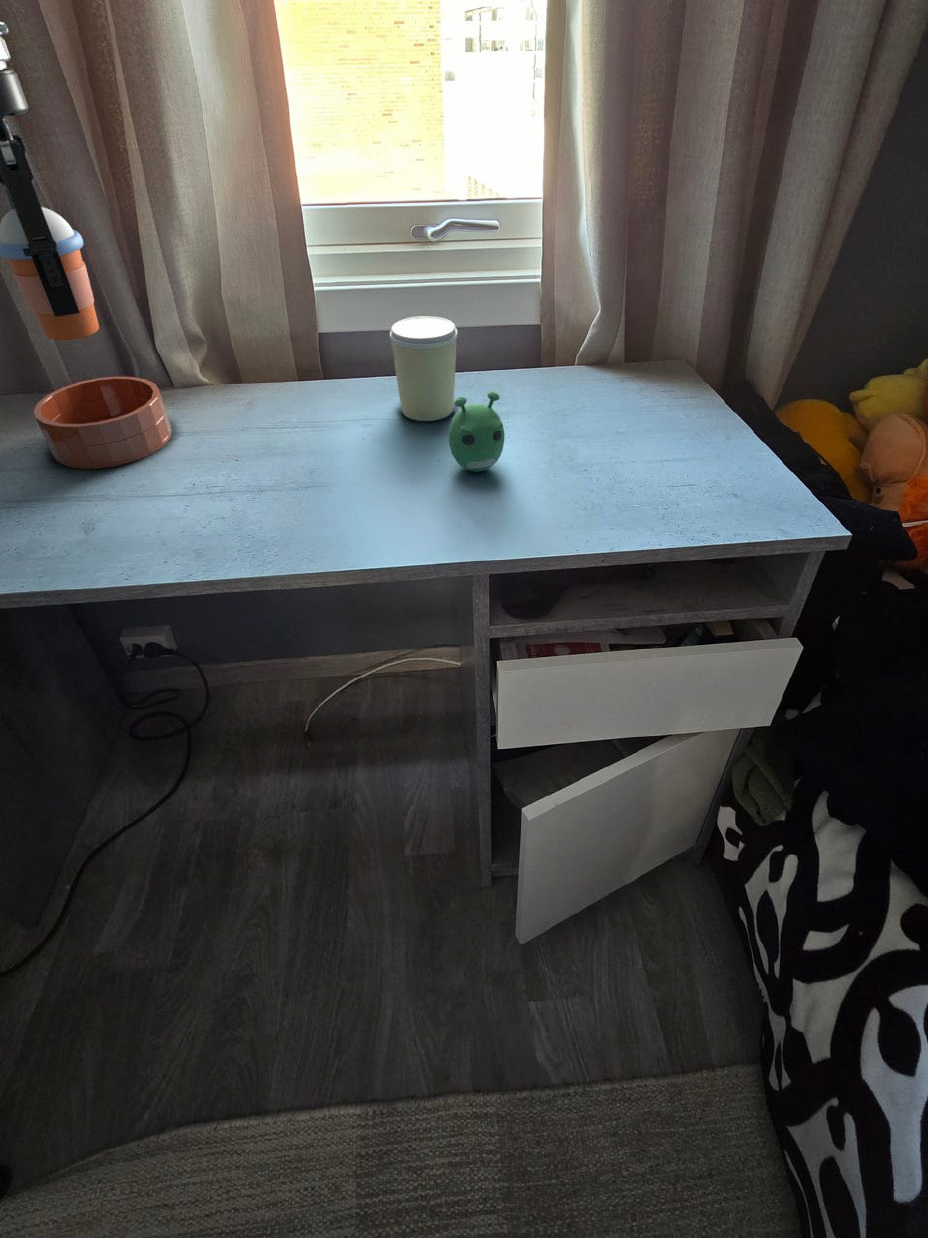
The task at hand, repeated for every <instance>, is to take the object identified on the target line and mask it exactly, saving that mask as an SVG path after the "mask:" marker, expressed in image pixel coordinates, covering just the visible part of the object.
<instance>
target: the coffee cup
mask: <svg viewBox="0 0 928 1238" xmlns="http://www.w3.org/2000/svg"><path fill="white" fill-rule="evenodd" d="M457 338H458V330H457V328H456V325H455V323H453V321H451V320H450V319H448V318H443V317H439V316H432V315H431V316H429V315H423V316H422V315H421V316H420V315H419V316H412V317H407V318H403V319H401V320H398V321H397V322H395V323H394V324H393V325H392V326H391V330H390V331H389V339H390V341H391V348H392V355H393V364H394V371H395V376H396V377H395V378H396V383H397V390H398V395H399V396H398V397H399V403H400V408H401V412H402V415H404V416H405V417H406V418H408V419H410V420H414V421H419V422H434V421H438V420H442V419H445V418H447V417H449V416H450V415H451V414H452V413H453V411H454V407H455V387H456V363H457Z"/></svg>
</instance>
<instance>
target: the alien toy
mask: <svg viewBox="0 0 928 1238" xmlns="http://www.w3.org/2000/svg"><path fill="white" fill-rule="evenodd" d="M486 395H487V397H488V399H489V402H488V404H484V403H479V402H478V403H469V404H467V402H468V400H467V398H466V397H464V396H459V397H457V398H456V399H455V400H454V407H458V408H460V409H459V410H458V411H457V412H456V413H455V415H454V416H453V418H452V420H451V423H450V425H449V426H450V427H449V430H448V444H449V449H450V452H451V455H452V457H453V458H454V460H455V461H456V463H457V464H458V465H459V466H460V467H461V468H463V469H465V470H467V471H469V472H483V471H486V470H489V469H490V468H491V467H493V466H494V465H495V464H496V463H497V462H498V460H499V459H500V457H501V455H502V453H503V450H504V445H505V429H504V424H503V421H502V420H501V418H500V415H499V414H498V413H497V411H495V410H494V408H492V407H493V404H494V402H496V401H499V400H500V394H498V392H497V391H488V392H487V394H486ZM466 404H467V405H466Z"/></svg>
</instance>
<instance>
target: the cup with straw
mask: <svg viewBox="0 0 928 1238" xmlns="http://www.w3.org/2000/svg"><path fill="white" fill-rule="evenodd" d="M41 208H42V211H43V213H44V216H45V219H46V221H47V224H48V227H49V229H50V232H51V235H52V237H53V240H54V241H55V242H56V244H57V250H56V251H58V254H59V257H60V259H61V262H62V265H63V268H64V270H65V273H66V276H67V279H68V281H69V284H70V287H71V290H72V292H73V295H74V298H75V301H76V303H77V306H78V309H79V312H80V313H77V314H71V315H65V316H59V317H55V316H54V313H53V311H52V308H51V305H50V303H49V300H48V298H47V295H46V293H45V290H44V287H43V285H42V282H41V280H40V277H39V274H38V272H37V269H36V267H35V264H34V262H33V259H32V256H28V257H25V254H24V252H23V249H25V248H28V242H27V239H26V237H25V234H24V232H23V229H22V227H21V224H20V222H19V219H18V217H17V214H16V211H15V209H13V210H12V209H11V210H9V212H7V213H5V215H4V216H3V217H2V219H1V221H0V256H1V257H2V258H6V260H7V262H8V263H9V265H10V268H11V269H12V271H11V273H12V275H13V277H14V279H15V281H16V283H17V285H18V287H19V289H20V291H21V293H22V295H23V297H24V299H25V301H26V302H27V305H28V307H29V308H30V309H29V310H30V311H31V312H32V313H34V315H35V316H36V319H37V320H38V323H39V325H40V326H41V329H42V331H43V333H44V335H45V336H46V337H47V338H48V339H50V340H54V341H73V340H79V339H83V338H86V337H87V338H88V337H90V336H92V335H94V334H96V333H97V332H98V331H99V330H100V325H99V321H98V317H97V312H96V308H95V305H94V303H95V297H94V294H93V290H92V286H91V282H90V278H89V274H88V271H87V266H86V262H85V261H83V257H82V253H81V249H82V248H83V246H84V239H83V237H82V235H81V234H80V233H79V232H78V231H77V230H75V229H73V228H72V227H71V225H70V224H69V223H68V221H66V220H65V219H64V217H62V216H61V215H60V214H58V213H57V212H55V211H53V210H52V209H49V208H46V207H44V206H41ZM40 238H45V237H38V238H33V239H40Z"/></svg>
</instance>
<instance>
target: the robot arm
mask: <svg viewBox="0 0 928 1238" xmlns="http://www.w3.org/2000/svg"><path fill="white" fill-rule="evenodd" d="M9 32H10V31H9V29H8V26H7V24H6V23H5V22H3V21H0V187H1V188H3V189H4V192H5V194H6V197H7V199H8V201H9V204H10V207H11V210H13V209H15V211H16V214H17V217H18V219H19V222H20V224H21V227H22V229H23V232H24V234H25V237H26V239H27V242H28V248H25V249H23V252H24V254H25V257H28V256H32V259H33V262H34V264H35V267H36V269H37V272H38V274H39V277H40V280H41V282H42V285H43V287H44V290H45V293H46V295H47V298H48V300H49V303H50V305H51V308H52V311H53V313H54V316H55V317H59V316H65V315H71V314H77V313H80V312H79V309H78V306H77V303H76V301H75V298H74V295H73V292H72V290H71V287H70V284H69V281H68V279H67V276H66V273H65V270H64V268H63V265H62V262H61V259H60V257H59V254H58V251H56V250H57V244H56V242H55V241H54V240H53V237H52V235H51V232H50V229H49V227H48V224H47V221H46V219H45V216H44V213H43V211H42V208H41V207H42V205H41V202H40V200H39V198H38V195H37V192H36V189H35V186H34V185H35V178H34V175H33V172H32V170H31V167H30V165H29V162H28V159H27V157H28V154H27V150H26V147H25V144H24V142H23V140H22V137H21V136H20V135H19V134H12V133H11V129H10V127H9V124H8V122H7V119H6V117H9V116H13V117H14V116H19V115H20V116H21V115H24V114H26V113H28V111H29V105H28V102H27V99H26V95H25V93H24V90H23V89H22V88H23V87H22V85H21V82H20V79H19V76H18V73H17V72H16V71H14V69H13V68H9V67H8V66H7V63H6V62H9V61H10V60H11V55H10V52H9V49H8V46H7V43H6V41H5V39H4V38H3V37H2V35H9ZM38 237H45V238H40V239H33V238H38Z"/></svg>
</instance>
